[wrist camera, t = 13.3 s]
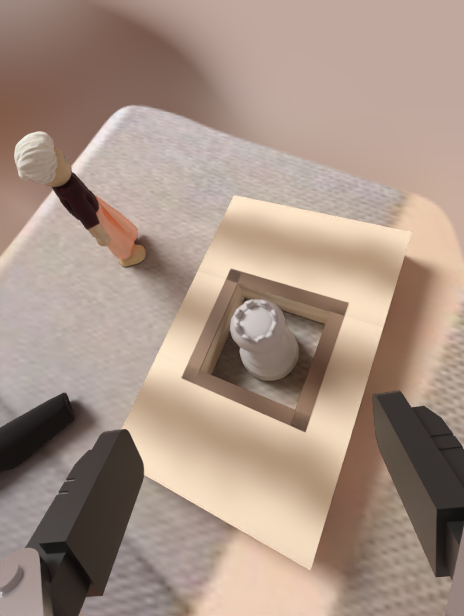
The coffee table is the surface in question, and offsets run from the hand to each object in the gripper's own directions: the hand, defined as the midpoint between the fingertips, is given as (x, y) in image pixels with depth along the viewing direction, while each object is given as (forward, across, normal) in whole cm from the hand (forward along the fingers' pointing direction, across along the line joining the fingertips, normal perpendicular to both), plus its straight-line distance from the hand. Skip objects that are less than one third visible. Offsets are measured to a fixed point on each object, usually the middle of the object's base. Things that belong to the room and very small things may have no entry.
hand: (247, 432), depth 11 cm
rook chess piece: (+14, 0, +6) cm, 15 cm away
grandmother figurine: (+23, +12, -3) cm, 26 cm away
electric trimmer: (+11, +23, +9) cm, 27 cm away
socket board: (+14, 0, +6) cm, 15 cm away
